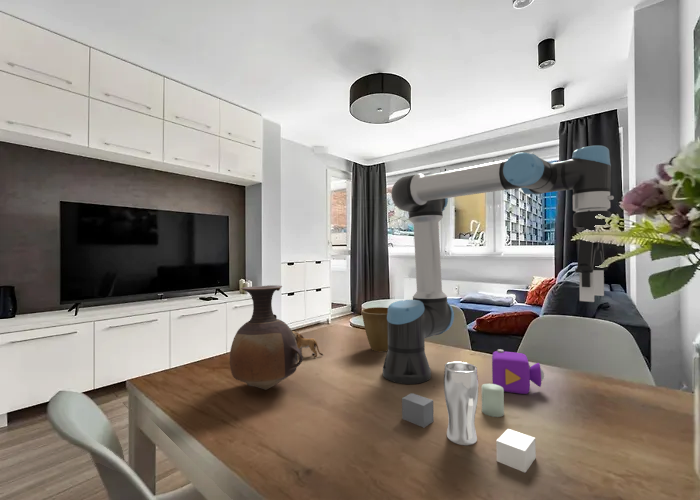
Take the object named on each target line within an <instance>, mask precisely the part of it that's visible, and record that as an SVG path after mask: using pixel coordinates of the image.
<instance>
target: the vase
mask: <svg viewBox="0 0 700 500" xmlns="http://www.w3.org/2000/svg"><path fill="white" fill-rule="evenodd" d="M282 287H283V286H282V285H278V284H275V285H273V284H272V285H271V284H269V285H255V286H253V285H252V286H245V287H244V286H243V287H241V288H240V289H241V290H243V291H244V292H247V293H249V295H250V296H251V299H252V305H253V310H252V314H251V318H250V320H248V321H246V322H245V323H244V324H242V326H241V327H239V328H238V330H237V331H236V333H235V335H234V337H233V340H232V341H231V342H232V343H231V347H230V351H229V366H230V371H231V375H232V377H233V378H234V379H235V380H237V381H239V382H242V383H245V384H247V386H248V387H256V388H259V389H262V390H264V391H267V390H269V389H270V388H272V387H274V386H275V385H276V384H278V383H280V382H282V381H283V380H285V379H287V378H289V377H290V376H292V375H293V374H294V373H295V372H296V371H297V368H298V367H299V366H300V365H301V364H302V362H303V359H304V356H303V350H302V351H301V350H300V349H299V348H298V347H297V342H296V339H295V336H294V334H293V332H292V331H293V330H292V329H291V328H290V326H289V325H288V324H287V323H286V322H284V320H282V319H278V316H277V315H276V314H274V312H273V307H272V302H273V296H274V293H275V292H276V291H280V290H281V289H282ZM298 354H299V355H298Z"/></svg>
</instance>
